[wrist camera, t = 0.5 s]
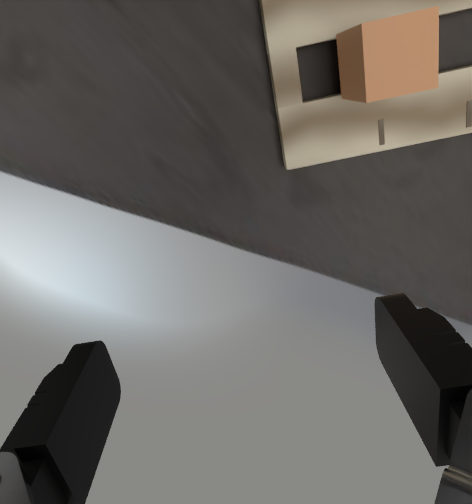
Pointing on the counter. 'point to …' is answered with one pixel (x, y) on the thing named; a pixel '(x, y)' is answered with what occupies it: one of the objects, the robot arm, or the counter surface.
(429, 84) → the fader knob
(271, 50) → the board
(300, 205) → the counter surface
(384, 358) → the robot arm
